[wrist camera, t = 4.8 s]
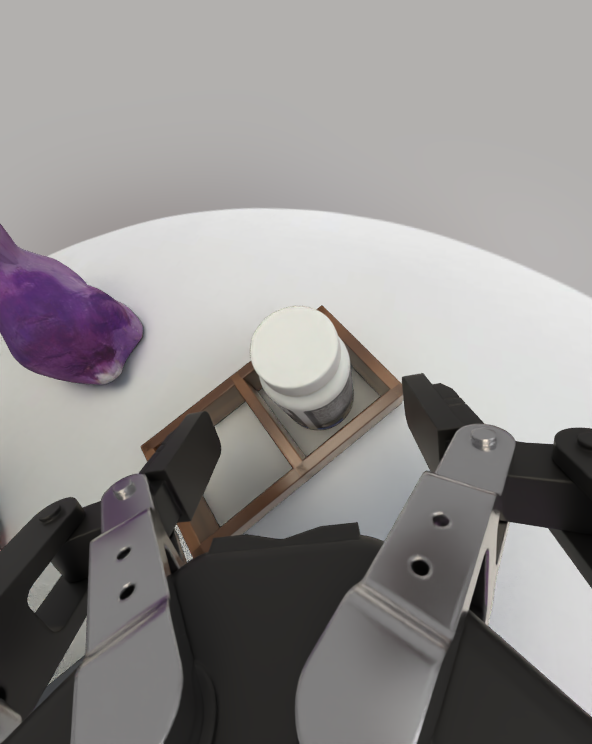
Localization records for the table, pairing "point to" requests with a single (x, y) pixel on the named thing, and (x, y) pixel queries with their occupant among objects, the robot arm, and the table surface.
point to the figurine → (61, 319)
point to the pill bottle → (304, 366)
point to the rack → (280, 438)
